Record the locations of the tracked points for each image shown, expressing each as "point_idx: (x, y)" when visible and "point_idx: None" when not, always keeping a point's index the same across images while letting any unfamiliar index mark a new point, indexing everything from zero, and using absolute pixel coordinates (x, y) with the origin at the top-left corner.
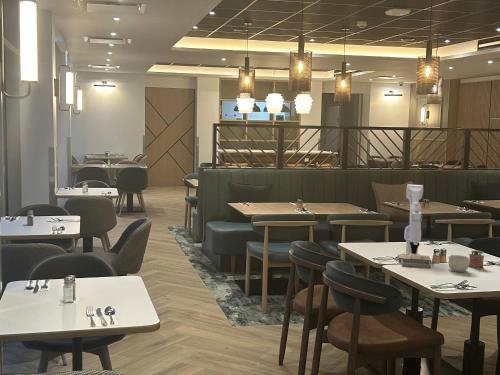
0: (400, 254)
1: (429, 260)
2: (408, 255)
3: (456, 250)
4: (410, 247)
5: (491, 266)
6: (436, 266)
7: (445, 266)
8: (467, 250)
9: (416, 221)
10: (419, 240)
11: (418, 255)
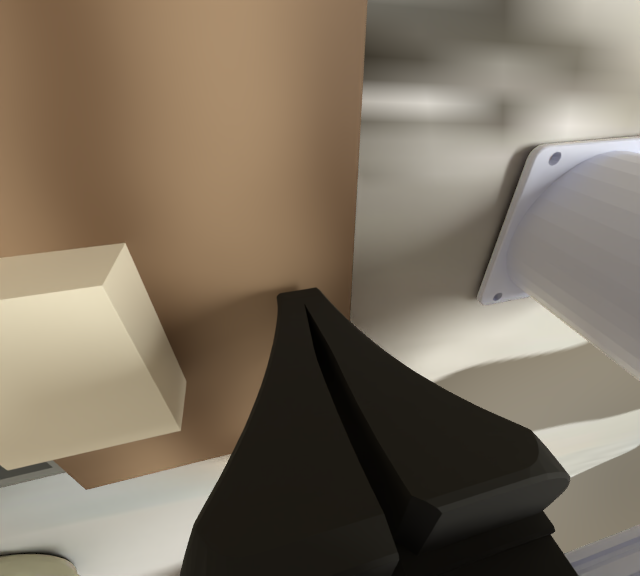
0: (305, 14)
1: (75, 479)
2: (267, 224)
3: (627, 426)
4: (635, 272)
5: None
6: (56, 477)
7: (128, 503)
8: (613, 449)
9: None
10: None
11: (21, 445)
